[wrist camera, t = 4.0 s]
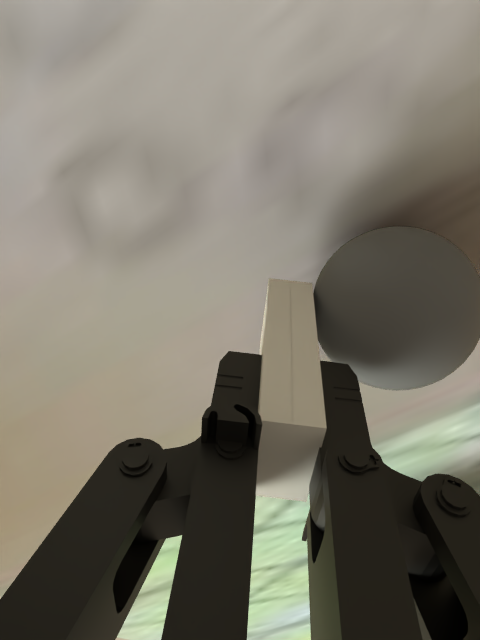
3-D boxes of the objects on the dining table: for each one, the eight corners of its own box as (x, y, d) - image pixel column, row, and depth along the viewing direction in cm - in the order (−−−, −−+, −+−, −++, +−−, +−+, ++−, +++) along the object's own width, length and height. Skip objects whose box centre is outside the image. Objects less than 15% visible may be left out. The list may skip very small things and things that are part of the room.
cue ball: (314, 257, 12) (537, 309, 11) (341, 187, 16) (503, 218, 15) (285, 396, 15) (451, 445, 14) (313, 308, 19) (443, 340, 18)
